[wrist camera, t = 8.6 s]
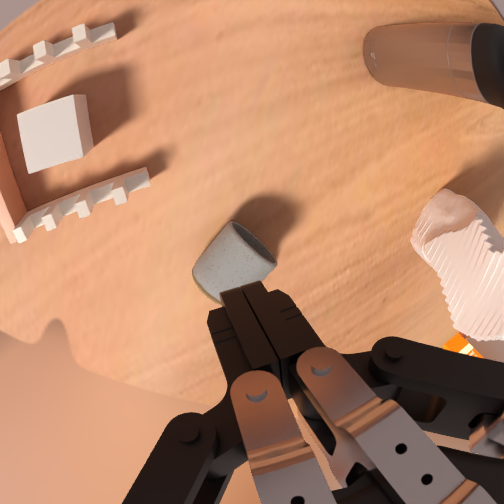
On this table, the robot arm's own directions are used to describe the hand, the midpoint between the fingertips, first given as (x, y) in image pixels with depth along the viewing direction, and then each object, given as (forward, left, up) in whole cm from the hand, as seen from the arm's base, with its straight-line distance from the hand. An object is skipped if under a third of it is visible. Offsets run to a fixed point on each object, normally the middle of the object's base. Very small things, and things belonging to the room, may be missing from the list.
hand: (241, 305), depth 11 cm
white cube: (+11, -8, -26) cm, 29 cm away
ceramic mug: (-4, +14, -26) cm, 30 cm away
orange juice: (-71, +77, -26) cm, 108 cm away
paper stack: (-45, +25, -26) cm, 58 cm away
